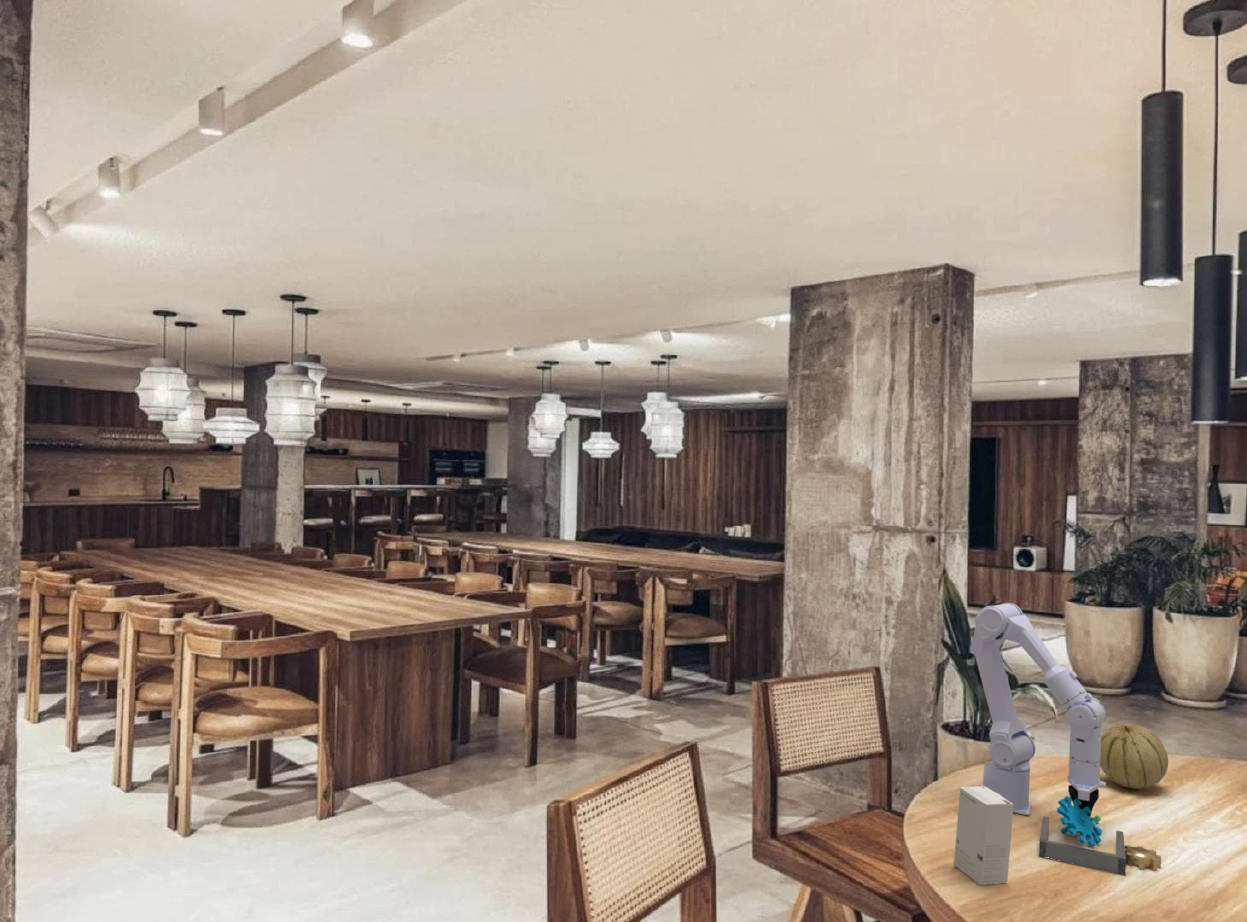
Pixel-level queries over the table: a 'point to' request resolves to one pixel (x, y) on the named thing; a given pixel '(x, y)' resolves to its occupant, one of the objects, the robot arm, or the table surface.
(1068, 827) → the gear
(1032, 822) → the table surface
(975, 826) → the skincare box
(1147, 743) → the cantaloupe
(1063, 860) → the bracket
